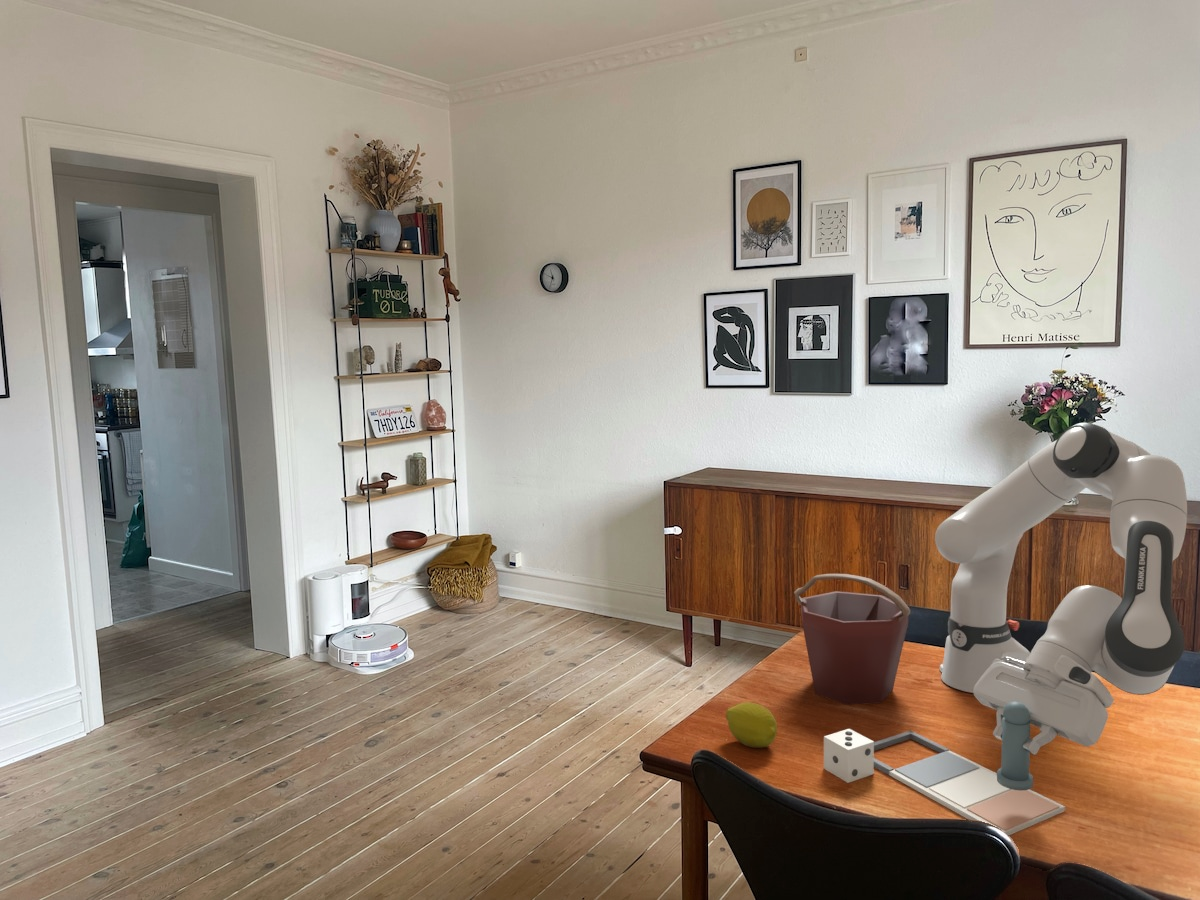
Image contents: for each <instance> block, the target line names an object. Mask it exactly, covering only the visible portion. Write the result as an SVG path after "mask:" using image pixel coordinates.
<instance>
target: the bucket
mask: <svg viewBox="0 0 1200 900" xmlns="http://www.w3.org/2000/svg"><path fill="white" fill-rule="evenodd" d="M822 580H823V581H824V580H846V581H847V580H848V581H853V582H856V583H861V584H864V585H866V586H868V587H870V588H872V589H874V590H876V591H877V592H879V593H881V595H880V594H870V593H861V592H860V593H859V592H850V591H839V590H836V591H830V592H826V593H820V594H816V595H815V594H814V595H810V596H805V597H801V595H803V594H804V593H806V591H809V590H810V588H812V587H813V585H815V584H816V583H817V582H818V581H822ZM793 594H794V595H795V600H796V601H795V602H797V603H798V604H799V605H800V611H801V623H802V629H803V634H804V641H805V645H806V646H805V647H806V650H807V656H808V662H809V669H810V672H811V677H812V683H813V688H814V694H815V695H818V696H819V697H820V696H821V697H823V698H826V699H829V700H832V701H835V702H837V703H841V704H842V705H862V704H863V705H864V704H865V705H866V704H867V705H868V704H881V703H882V702H883V701H884V700H885V699H887V697H888V696H890V694H892V693H893V691H894V686H895V681H896V678H897V674H898V670H899V664H900V661H901V655H902V652H903V648H904V643H905V638H906V633H907V629H908V625H909V615H911V609H910V607H909V606H908V605H907V604H906V602H905V601H904V600H903V599H902V597H901V595H899V594H897V593H895V592H894V591H893V590H892V589H890V588H889V587H887V586H885V585H884V584H882V583H880V582H878V581H876V580H873V579H872V578H869V577H865V576H860V575H853V574H848V573H824V574H822V573H821V574H817V575H815V576H812V577H811V578H810V579H809V580H808V581H807V582H806V584H804V585H803V586H802V587H799V588H796V590H795V591H793Z"/></svg>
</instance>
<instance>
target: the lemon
mask: <svg viewBox="0 0 1200 900" xmlns="http://www.w3.org/2000/svg"><path fill="white" fill-rule="evenodd" d="M725 717H726V720H727V723H728V728H729V731H730V732H731V734H732V736H734V738H735V739H736V740H737V741H738V742H739V743H740V744H743V745H744V746H746V747H751V748H760V749H761V748H766V747H768V746H770V745H771V744H773V742H774V741H775V738H776V735H777V731H778V724H777V720H776V719H775V716H774V715H773V714H772V712H771V710H769V709H768V708H767V707H766V706H763V704H762V705H761V704H760V703H759V704H758V703H756V702H750V701H749V702H747V701H746V702H740V703H738V704H737V705H734V706H731V707H729V708H728V709H726V712H725Z"/></svg>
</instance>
